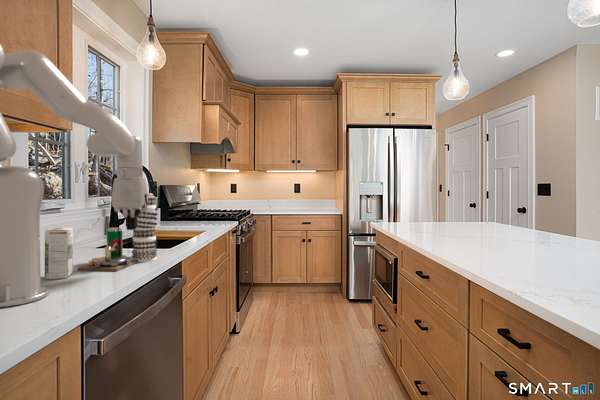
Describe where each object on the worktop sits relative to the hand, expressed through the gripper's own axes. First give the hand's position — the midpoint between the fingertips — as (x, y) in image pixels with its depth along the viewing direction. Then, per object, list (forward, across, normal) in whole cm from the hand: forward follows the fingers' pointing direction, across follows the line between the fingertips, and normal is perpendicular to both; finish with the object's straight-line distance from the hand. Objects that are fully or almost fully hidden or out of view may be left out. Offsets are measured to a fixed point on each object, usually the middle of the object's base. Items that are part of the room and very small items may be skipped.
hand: (131, 229), depth 110 cm
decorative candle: (+14, -3, +14) cm, 20 cm away
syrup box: (+13, -16, -12) cm, 24 cm away
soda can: (+14, -13, +12) cm, 22 cm away
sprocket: (+12, -9, +3) cm, 16 cm away
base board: (+13, -9, +2) cm, 16 cm away
